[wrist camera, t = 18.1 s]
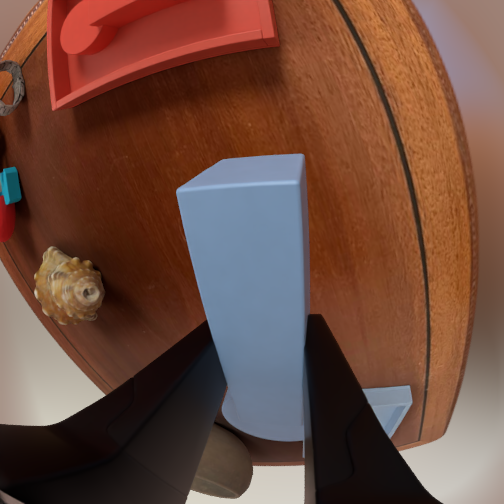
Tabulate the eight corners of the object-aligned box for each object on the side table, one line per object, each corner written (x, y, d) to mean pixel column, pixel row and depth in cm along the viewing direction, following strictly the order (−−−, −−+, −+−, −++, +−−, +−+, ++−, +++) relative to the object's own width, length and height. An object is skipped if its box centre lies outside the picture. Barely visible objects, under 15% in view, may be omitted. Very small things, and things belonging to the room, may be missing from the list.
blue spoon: (180, 164, 7) (122, 196, 5) (351, 152, 6) (374, 179, 4) (240, 406, 13) (227, 452, 11) (329, 412, 12) (326, 461, 10)
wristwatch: (23, 52, 14) (-17, 56, 10) (33, 98, 16) (-9, 108, 12) (7, 73, 15) (-29, 80, 11) (18, 118, 18) (-21, 130, 13)
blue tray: (306, 388, 26) (304, 407, 24) (409, 384, 24) (412, 402, 22) (304, 444, 34) (302, 457, 32) (378, 442, 31) (378, 455, 29)
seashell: (84, 210, 25) (50, 243, 16) (133, 265, 29) (124, 318, 20) (35, 263, 25) (-2, 310, 16) (82, 311, 29) (63, 369, 20)
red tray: (254, -78, 8) (246, -94, 6) (280, 46, 13) (274, 37, 11) (66, -1, 11) (48, -4, 9) (72, 107, 17) (52, 111, 15)
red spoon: (218, -45, 9) (202, -64, 7) (226, 6, 11) (210, -10, 9) (75, 18, 12) (50, 14, 10) (77, 64, 14) (51, 64, 12)
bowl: (145, 420, 41) (124, 463, 32) (164, 385, 32) (132, 448, 23) (232, 457, 42) (218, 501, 33) (281, 434, 33) (268, 496, 24)
